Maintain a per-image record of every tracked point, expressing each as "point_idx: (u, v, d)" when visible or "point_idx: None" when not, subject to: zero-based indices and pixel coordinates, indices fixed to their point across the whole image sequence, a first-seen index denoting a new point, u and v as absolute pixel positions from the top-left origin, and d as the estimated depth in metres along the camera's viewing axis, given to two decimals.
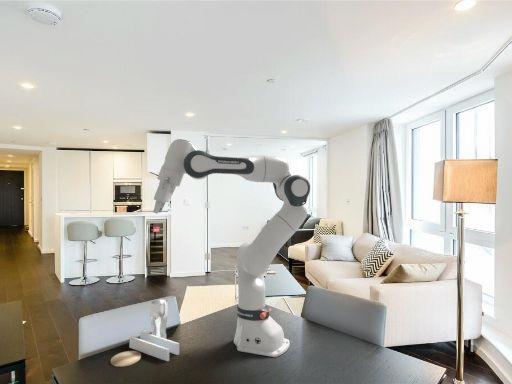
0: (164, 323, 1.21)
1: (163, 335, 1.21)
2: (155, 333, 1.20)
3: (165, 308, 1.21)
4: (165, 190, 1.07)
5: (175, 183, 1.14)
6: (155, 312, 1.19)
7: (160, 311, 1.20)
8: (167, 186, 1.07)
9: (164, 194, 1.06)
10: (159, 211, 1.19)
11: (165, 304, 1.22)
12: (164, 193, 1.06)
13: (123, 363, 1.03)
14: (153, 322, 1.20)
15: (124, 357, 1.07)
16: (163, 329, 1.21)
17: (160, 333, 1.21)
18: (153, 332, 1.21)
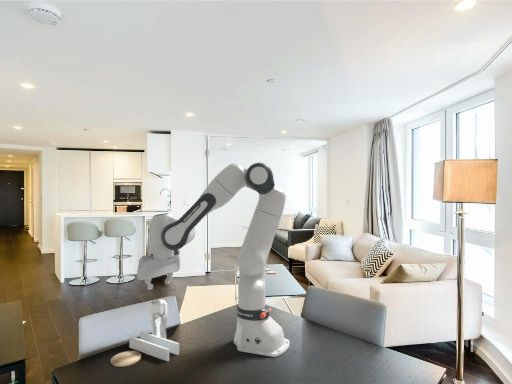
0: (164, 323, 1.21)
1: (163, 335, 1.21)
2: (155, 333, 1.20)
3: (165, 308, 1.21)
4: (142, 269, 1.14)
5: (159, 257, 1.19)
6: (155, 312, 1.19)
7: (160, 311, 1.20)
8: (143, 264, 1.15)
9: (142, 273, 1.14)
10: (166, 283, 1.26)
11: (165, 304, 1.22)
12: (142, 272, 1.14)
13: (123, 363, 1.03)
14: (153, 322, 1.20)
15: (124, 357, 1.07)
16: (163, 329, 1.21)
17: (160, 333, 1.21)
18: (153, 332, 1.21)
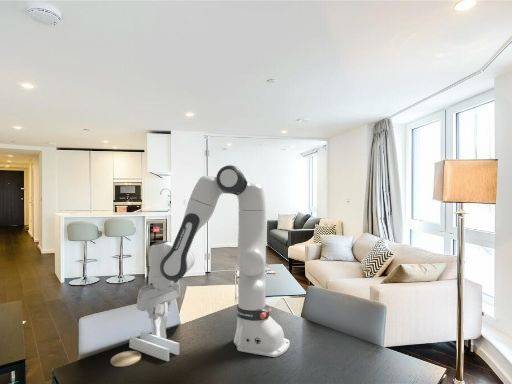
0: (164, 323, 1.21)
1: (163, 335, 1.21)
2: (155, 333, 1.20)
3: (165, 308, 1.21)
4: (142, 299, 1.14)
5: (158, 286, 1.19)
6: (155, 312, 1.19)
7: (160, 311, 1.20)
8: (143, 295, 1.14)
9: (141, 303, 1.14)
10: None
11: (165, 304, 1.22)
12: (141, 302, 1.14)
13: (123, 363, 1.03)
14: (153, 322, 1.20)
15: (124, 357, 1.07)
16: (163, 329, 1.21)
17: (160, 333, 1.21)
18: (153, 332, 1.21)
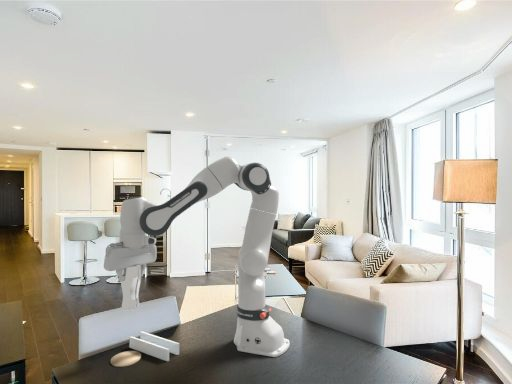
0: (136, 288, 1.08)
1: (135, 301, 1.08)
2: (126, 299, 1.07)
3: (137, 271, 1.08)
4: (109, 258, 1.01)
5: (130, 245, 1.06)
6: (125, 275, 1.06)
7: (131, 275, 1.07)
8: (111, 253, 1.01)
9: (109, 262, 1.01)
10: None
11: (137, 267, 1.08)
12: (109, 261, 1.01)
13: (123, 363, 1.03)
14: (123, 287, 1.07)
15: (124, 357, 1.07)
16: (135, 295, 1.08)
17: (132, 300, 1.08)
18: (124, 298, 1.08)
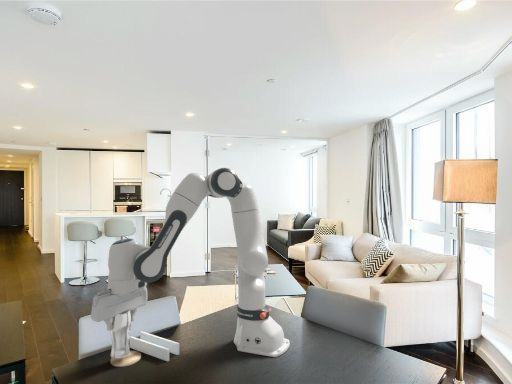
0: (126, 336, 1.04)
1: (125, 350, 1.03)
2: (115, 348, 1.02)
3: (127, 319, 1.03)
4: (96, 308, 0.96)
5: (118, 292, 1.01)
6: (114, 324, 1.02)
7: (120, 323, 1.02)
8: (98, 303, 0.96)
9: (96, 313, 0.96)
10: None
11: (127, 314, 1.04)
12: (96, 312, 0.96)
13: (123, 363, 1.03)
14: (112, 335, 1.02)
15: (124, 357, 1.07)
16: (125, 343, 1.04)
17: (121, 348, 1.03)
18: (113, 347, 1.03)
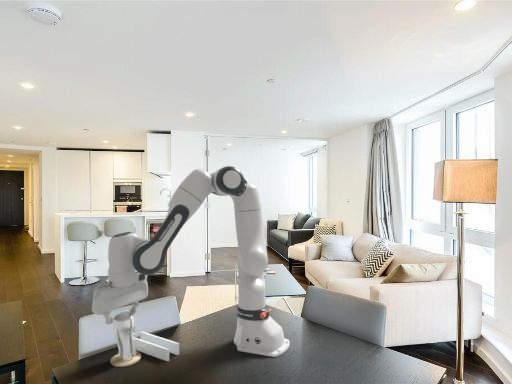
0: (131, 340, 1.05)
1: (131, 353, 1.06)
2: (121, 352, 1.04)
3: (130, 324, 1.04)
4: (97, 301, 0.96)
5: (119, 285, 1.01)
6: (118, 330, 1.03)
7: (124, 328, 1.03)
8: (98, 296, 0.96)
9: (97, 306, 0.96)
10: None
11: (129, 319, 1.04)
12: (97, 305, 0.96)
13: (123, 363, 1.03)
14: (117, 340, 1.04)
15: None
16: (130, 346, 1.05)
17: (128, 351, 1.05)
18: (119, 350, 1.05)
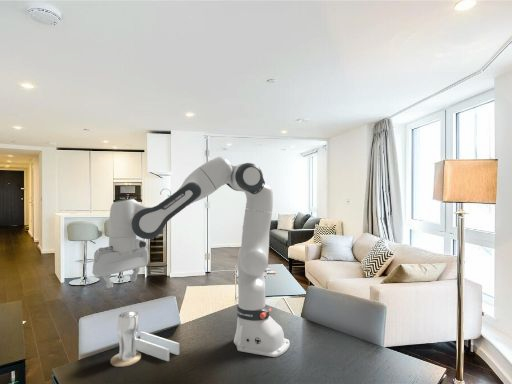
0: (133, 339, 1.06)
1: (132, 353, 1.06)
2: (122, 351, 1.05)
3: (134, 322, 1.06)
4: (98, 263, 0.97)
5: (120, 249, 1.02)
6: (122, 327, 1.04)
7: (128, 326, 1.05)
8: (99, 258, 0.97)
9: (98, 268, 0.96)
10: (132, 280, 1.09)
11: (134, 318, 1.06)
12: (98, 267, 0.96)
13: (123, 363, 1.03)
14: (120, 338, 1.05)
15: None
16: (132, 346, 1.06)
17: (129, 351, 1.05)
18: (120, 350, 1.05)
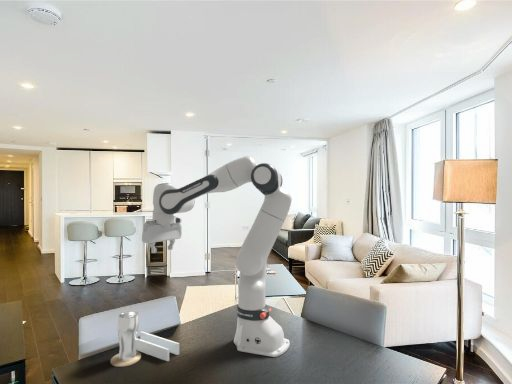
0: (133, 339, 1.06)
1: (132, 353, 1.06)
2: (122, 351, 1.05)
3: (134, 322, 1.06)
4: (146, 232, 1.24)
5: (162, 222, 1.29)
6: (122, 327, 1.04)
7: (128, 326, 1.05)
8: (147, 228, 1.24)
9: (146, 236, 1.23)
10: (169, 249, 1.36)
11: (134, 318, 1.06)
12: (146, 235, 1.24)
13: (123, 363, 1.03)
14: (120, 338, 1.05)
15: None
16: (132, 346, 1.06)
17: (129, 351, 1.05)
18: (120, 350, 1.05)
